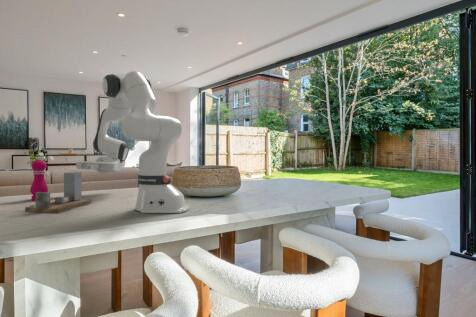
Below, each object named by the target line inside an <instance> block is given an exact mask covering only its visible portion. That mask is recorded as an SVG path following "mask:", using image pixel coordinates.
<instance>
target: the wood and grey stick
mask: <svg viewBox="0 0 476 317" xmlns="http://www.w3.org/2000/svg"><path fill="white" fill-rule="evenodd" d="M54 200H55V203H60V204H62V203H64V196H56V197H52V196H50V201H54Z"/></svg>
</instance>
